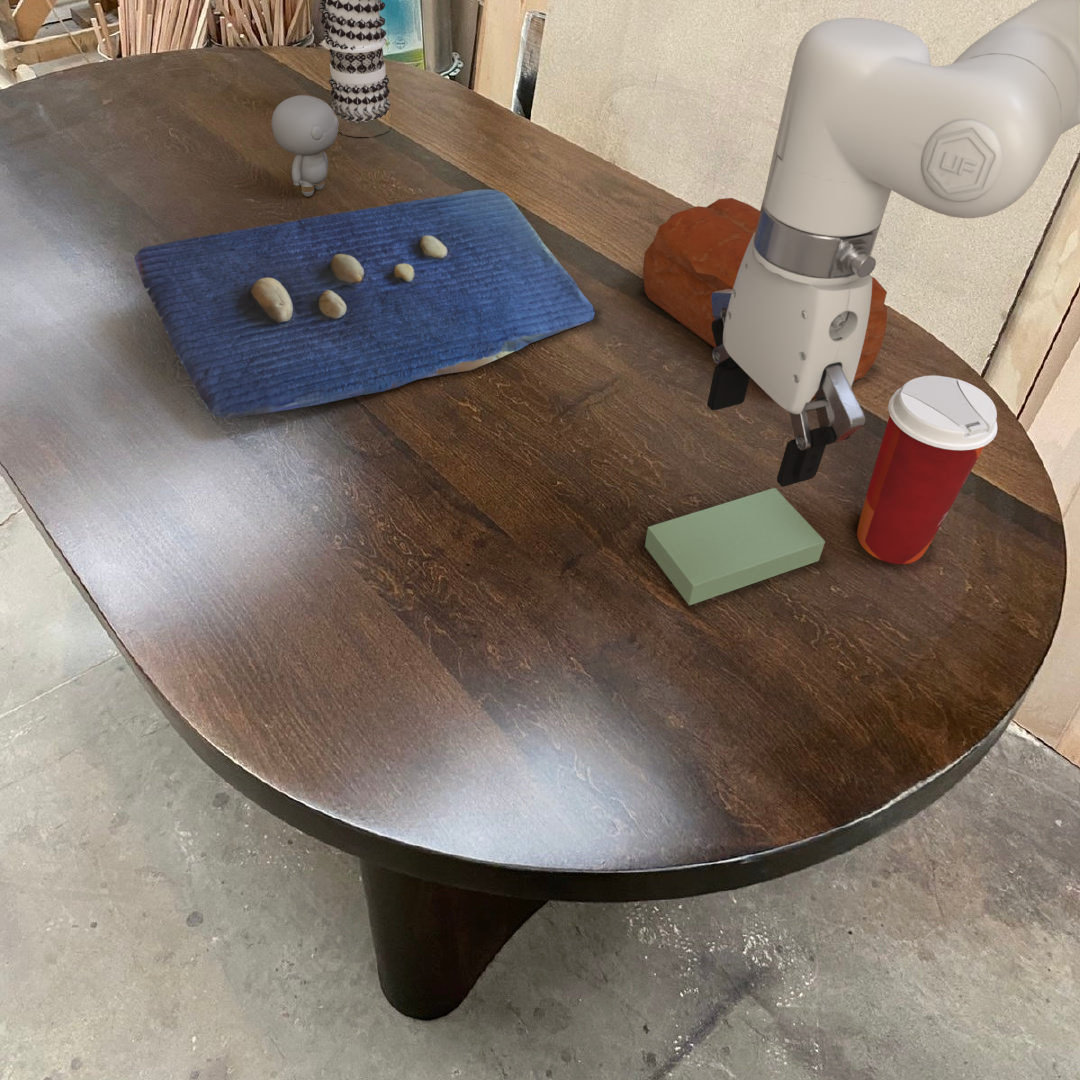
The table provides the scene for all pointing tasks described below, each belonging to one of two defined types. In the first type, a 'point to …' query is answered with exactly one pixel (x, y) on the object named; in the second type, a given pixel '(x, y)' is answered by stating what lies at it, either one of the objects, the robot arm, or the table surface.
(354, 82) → the decorative candle
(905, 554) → the coffee cup
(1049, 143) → the robot arm
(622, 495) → the table surface
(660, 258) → the bread
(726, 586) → the sage green foam block
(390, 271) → the mat
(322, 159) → the figurine
